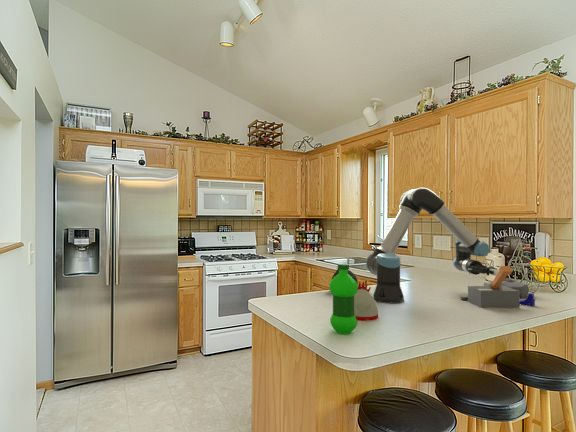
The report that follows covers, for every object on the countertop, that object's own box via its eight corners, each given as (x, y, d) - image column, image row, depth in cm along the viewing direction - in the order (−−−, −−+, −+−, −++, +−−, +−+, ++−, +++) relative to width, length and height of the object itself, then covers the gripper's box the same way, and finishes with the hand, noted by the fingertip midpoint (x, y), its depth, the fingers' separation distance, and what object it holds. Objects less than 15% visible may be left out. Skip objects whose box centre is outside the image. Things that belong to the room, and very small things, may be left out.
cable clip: (534, 305, 166) (534, 292, 166) (532, 306, 163) (532, 294, 163) (506, 300, 175) (506, 289, 175) (503, 302, 172) (503, 290, 172)
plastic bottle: (331, 326, 133) (331, 262, 133) (359, 328, 130) (358, 263, 130) (327, 334, 123) (326, 265, 123) (356, 337, 120) (356, 266, 120)
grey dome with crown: (343, 311, 154) (343, 278, 155) (374, 312, 154) (374, 278, 154) (348, 320, 140) (347, 284, 141) (381, 321, 140) (381, 284, 140)
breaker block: (481, 307, 160) (480, 285, 161) (468, 301, 172) (467, 281, 173) (519, 307, 160) (519, 285, 160) (503, 301, 172) (503, 281, 172)
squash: (363, 284, 189) (355, 262, 199) (338, 287, 186) (331, 264, 196) (356, 297, 200) (348, 275, 209) (332, 300, 196) (325, 277, 206)
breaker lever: (490, 290, 165) (503, 271, 155) (487, 285, 167) (500, 266, 157) (498, 290, 165) (512, 271, 154) (495, 285, 167) (509, 266, 157)
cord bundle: (463, 300, 175) (463, 297, 175) (460, 299, 178) (460, 296, 178) (504, 300, 175) (504, 298, 175) (500, 299, 178) (500, 296, 178)
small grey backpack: (531, 295, 187) (491, 290, 203) (531, 280, 187) (491, 276, 203) (522, 299, 178) (481, 293, 193) (522, 283, 178) (481, 278, 193)
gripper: (484, 273, 185) (513, 281, 162) (460, 273, 185) (485, 281, 162) (484, 259, 185) (513, 265, 162) (460, 259, 185) (485, 265, 162)
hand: (499, 273), depth 162 cm, fingers closed
